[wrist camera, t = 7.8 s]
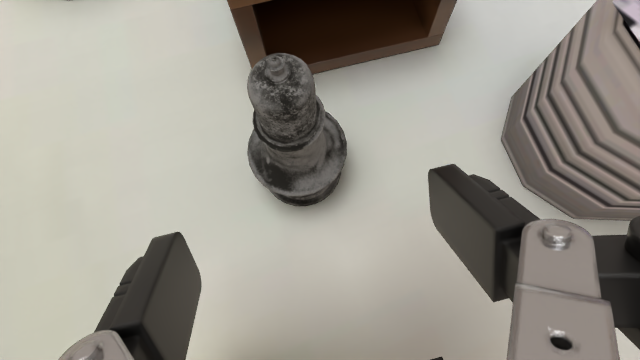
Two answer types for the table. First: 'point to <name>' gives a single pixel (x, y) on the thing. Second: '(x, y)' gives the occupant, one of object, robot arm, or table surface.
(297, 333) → the table surface
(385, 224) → the table surface
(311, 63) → the l-shaped wooden block
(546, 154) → the can
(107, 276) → the table surface
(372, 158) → the table surface
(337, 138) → the chess piece
